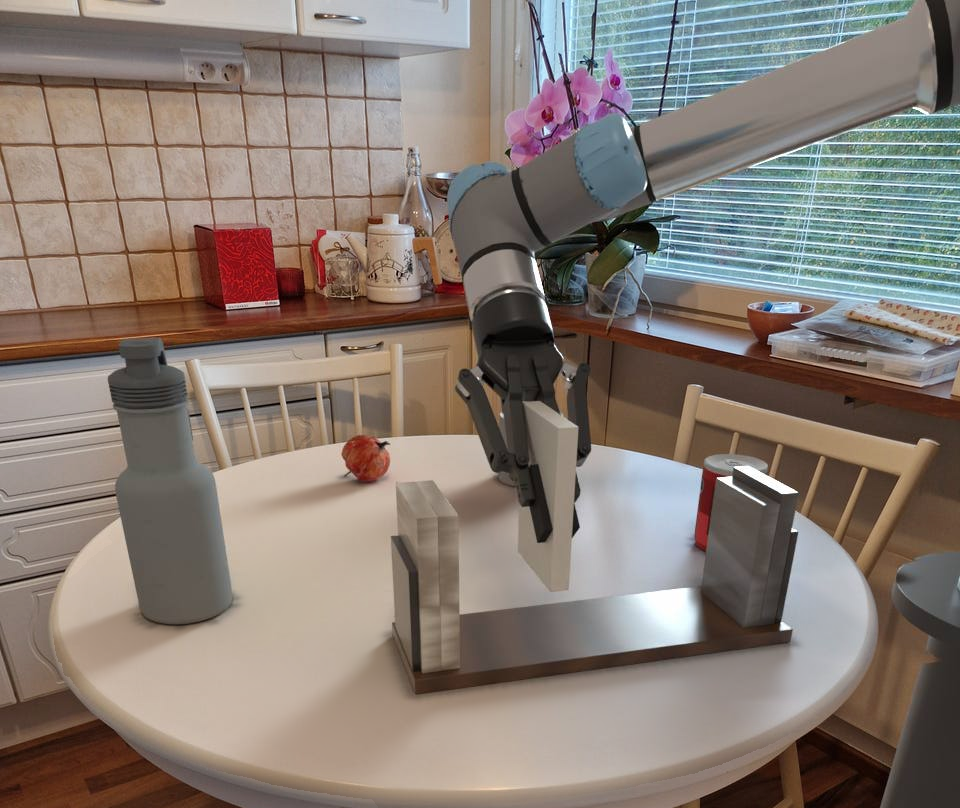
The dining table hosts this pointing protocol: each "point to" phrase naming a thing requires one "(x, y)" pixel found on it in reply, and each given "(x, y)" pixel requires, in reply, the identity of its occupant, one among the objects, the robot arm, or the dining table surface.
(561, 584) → the white book
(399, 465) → the dining table surface
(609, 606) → the book shelf
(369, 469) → the pomegranate
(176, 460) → the water bottle
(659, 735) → the dining table surface
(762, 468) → the canned food
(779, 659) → the dining table surface
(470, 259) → the robot arm
